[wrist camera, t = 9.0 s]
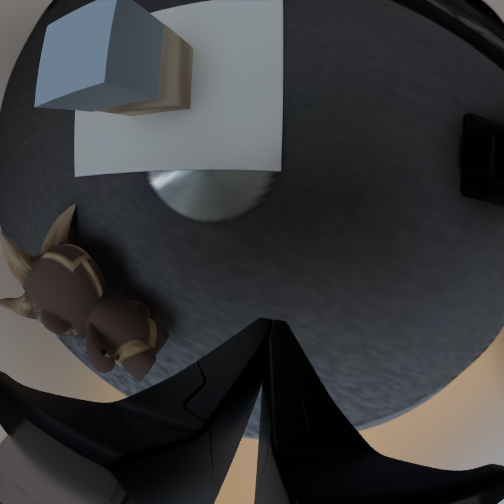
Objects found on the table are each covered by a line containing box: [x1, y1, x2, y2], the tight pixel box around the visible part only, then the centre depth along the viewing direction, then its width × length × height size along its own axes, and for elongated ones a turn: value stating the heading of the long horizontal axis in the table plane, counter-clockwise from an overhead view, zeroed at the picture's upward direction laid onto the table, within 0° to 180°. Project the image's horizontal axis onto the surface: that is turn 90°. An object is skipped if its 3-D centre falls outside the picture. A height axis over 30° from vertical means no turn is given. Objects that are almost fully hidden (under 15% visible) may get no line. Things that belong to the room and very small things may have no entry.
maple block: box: [98, 24, 193, 116], centre depth 16 cm, size 5×5×5 cm
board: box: [74, 0, 284, 177], centre depth 18 cm, size 18×14×1 cm
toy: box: [0, 204, 169, 381], centre depth 20 cm, size 11×8×15 cm
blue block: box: [35, 0, 164, 112], centre depth 11 cm, size 5×5×5 cm
